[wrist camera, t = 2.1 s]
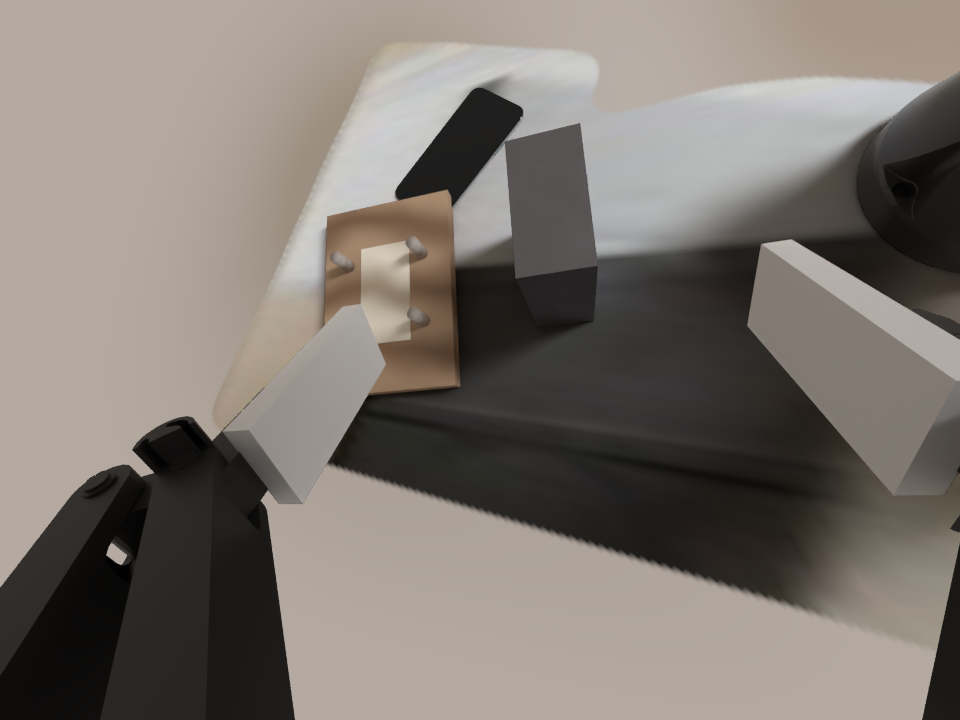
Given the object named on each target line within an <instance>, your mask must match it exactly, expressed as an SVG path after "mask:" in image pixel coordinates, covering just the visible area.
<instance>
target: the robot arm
mask: <svg viewBox="0 0 960 720" xmlns="http://www.w3.org/2000/svg"><path fill="white" fill-rule="evenodd" d="M857 187H858V195H859V199H860V203H861V206H862V208H863V211H864V213H865V215H866V216H867V218H868V220H869V221H870V223H871V224H872V226H873V227H874V228H875V229H876V230H877V232H878V233H879V234H880V235H881V236H882V237H883V238H884V239H885V240H886V241H888V242H889V243H890V244H891V245H893V246H894V247H895V248H897V249H898V250H900V251H901V252H903V253H905V254H906V255H908V256H910V257H912V258H914V259H916V260H918V261H920V262H923V263H925V264H928V265H930V266H934V267H937V268H940V269H944V270H947V271H952V272H957V273H960V71H959V72H958V73H956V74H954V75H953V76H951V77H949V78H947V79H946V80H944V81H942V82H941V83H939V84H937V85H936V86H934V87H932V88H930V89H929V90H927V91H926V92H924V93H922V94H921V95H919V96H918V97H917V98H915V99H914V100H912V101H911V102H910V103H909V104H907V105H906V106H905V107H904V108H903V109H902V110H901V111H900V112H898V113H897V114H896V115H895V116H894V117H893V119H892V120H891V121H890V122H889V123H888V124H887V125H886V126H885V127H884V128H883V129H882V130H881V131H880V132H879V133H878V134H877V135H876V136H875V138H874V139H873V140H872V141H871V143H870V144H869V146H868V147H867V149H866V151H865V153H864V155H863V157H862V160H861V163H860V166H859V171H858V178H857ZM747 326H748V327H749V328H750V330H751V331H752V332H753V333H754V334H755V335H756V337H757V338H758V339H759V340H760V341H761V342H762V344H763V345H764V346H765V347H766V348H767V349H768V351H769V352H770V353H771V354H772V355H773V356H774V358H775V359H776V360H777V361H778V362H779V363H780V364H781V366H782V367H783V368H784V369H785V370H786V371H787V373H788V374H789V375H790V376H791V377H792V378H793V380H794V381H795V382H796V383H797V384H798V385H799V387H800V388H801V389H802V390H803V391H804V392H805V394H806V395H807V396H808V397H809V398H810V399H811V401H812V402H813V403H814V404H815V405H816V406H817V407H818V409H819V410H820V411H821V412H822V413H823V414H824V416H825V417H826V418H827V419H828V420H829V421H830V423H831V424H832V425H833V426H834V427H835V428H836V430H837V431H838V432H839V433H840V434H841V435H842V437H843V438H844V439H845V440H846V441H847V442H848V444H849V445H850V446H851V447H852V448H853V449H854V450H855V452H856V453H857V454H858V455H859V456H860V457H861V459H862V460H863V461H864V462H865V463H866V464H867V466H868V467H869V468H870V469H871V470H872V471H873V473H874V474H875V475H876V476H877V477H878V478H879V480H880V481H881V482H882V483H883V484H884V485H885V487H886V488H887V489H888V490H889V491H890V492H891V493H892V495H893V496H914V495H944V494H945V492H946V491H947V489H948V488H949V486H950V485H951V483H952V482H953V480H954V479H955V477H956V476H957V474H958V472H959V473H960V324H958V323H956V322H954V321H952V320H951V319H948V318H945V317H942V316H939V315H936V314H932V313H929V312H926V311H923V310H920V309H913V310H909V309H907V308H906V307H904V306H902V305H901V304H899V303H897V302H896V301H894V300H892V299H891V298H889V297H887V296H886V295H884V294H882V293H881V292H879V291H877V290H876V289H874V288H872V287H870V286H869V285H867V284H865V283H864V282H862V281H860V280H859V279H857V278H855V277H854V276H852V275H850V274H849V273H847V272H845V271H844V270H842V269H840V268H839V267H837V266H835V265H834V264H832V263H830V262H829V261H827V260H825V259H824V258H822V257H820V256H819V255H817V254H815V253H814V252H812V251H810V250H808V249H807V248H805V247H803V246H802V245H800V244H798V243H797V242H795V241H793V240H792V239H790V240H784V241H777V242H770V243H764V244H761V248H760V254H759V260H758V265H757V271H756V277H755V283H754V289H753V294H752V300H751V306H750V312H749V318H748V324H747ZM385 365H386V363H385V361H384V358H383V356H382V353H381V351H380V349H379V346H378V344H377V342H376V339H375V337H374V334H373V332H372V330H371V327H370V325H369V322H368V320H367V318H366V315H365V313H364V311H363V308H362V306H361V304H357V305H351V306H344V307H342V308H341V309H340V310H339V311H338V312H337V313H336V314H335V315H334V316H333V317H332V318H331V319H330V320H329V321H328V322H327V324H326V325H325V326H324V327H323V328H322V329H321V330H320V331H319V332H318V333H317V334H316V335H315V336H314V337H313V338H312V339H311V340H310V341H309V342H308V343H307V344H306V345H305V346H304V347H303V348H302V349H301V351H300V352H299V353H298V354H297V355H296V356H295V357H294V358H293V359H292V360H291V361H290V362H289V363H288V364H287V365H286V366H285V367H284V368H283V369H282V370H281V371H280V372H279V373H278V374H277V375H276V376H275V378H274V379H273V380H272V381H271V382H270V383H269V384H268V385H267V386H266V387H264V388H263V389H262V390H261V391H260V392H259V393H258V394H257V395H256V396H255V397H254V398H253V399H252V401H251V402H250V403H249V404H248V405H247V406H246V407H245V408H244V410H243V411H241V412H240V413H239V414H238V415H237V416H236V417H235V418H234V419H233V420H232V421H231V422H230V423H229V424H228V425H227V426H226V427H225V428H224V429H223V430H222V431H221V433H220V434H219V435H218V436H217V437H216V438H215V439H214V440H213V441H211V439H210V438H209V437H208V436H207V434H206V433H205V432H204V431H203V430H202V428H201V427H200V426H199V425H198V423H197V422H196V421H195V420H194V418H192V417H188V416H186V417H180V418H176V419H173V420H171V421H168V422H166V423H164V424H162V425H160V426H158V427H156V428H155V429H153V430H152V431H150V432H149V433H147V434H146V435H145V436H144V437H142V438H141V439H140V440H139V441H138V442H137V443H136V445H135V446H134V448H133V449H132V450H133V451H134V452H135V453H136V454H137V455H138V456H139V457H140V458H141V459H142V460H143V461H144V462H145V464H147V466H149V468H150V469H151V470H152V471H153V472H154V473H153V474H150V475H146V476H143V477H141V476H140V475H139V474H138V473H137V472H136V471H135V470H134V469H133V468H132V467H131V466H129V465H120V466H116V467H112V468H110V469H108V470H106V471H102V472H100V473H98V474H96V476H95V475H94V476H93V477H91V478H89V479H88V480H87V481H86V483H85V484H83V485H82V486H81V487H80V488H78V490H76V491H75V492H74V494H73V495H72V496H71V497H70V498H69V499H68V501H67V502H66V503H65V505H64V506H63V507H62V508H61V510H60V511H59V512H58V514H57V515H56V516H55V518H54V519H53V520H52V521H51V523H50V524H49V525H48V527H47V528H46V530H45V531H44V532H43V533H42V534H41V536H40V537H39V538H38V539H37V541H36V542H35V543H34V545H33V546H32V547H31V549H30V550H29V551H28V553H27V554H26V555H25V556H24V558H23V559H22V560H21V562H20V563H19V564H18V565H17V567H16V568H15V570H14V571H13V572H12V573H11V575H10V576H9V577H8V578H7V580H6V581H5V582H4V584H3V585H2V586H1V587H0V720H295V717H294V709H293V702H292V695H291V687H290V680H289V672H288V665H287V657H286V650H285V642H284V635H283V627H282V620H281V612H280V605H279V598H278V591H277V583H276V575H275V568H274V560H273V553H272V545H271V539H270V530H269V523H268V516H267V510H266V508H265V506H264V504H263V503H262V502H261V501H260V500H261V499H262V497H263V496H264V495H265V493H266V492H267V490H268V491H269V492H270V493H271V495H272V496H273V497H274V499H275V500H276V501H277V502H278V503H279V504H303V502H304V501H305V499H306V497H307V496H308V494H309V492H310V490H311V489H312V487H313V486H314V484H315V482H316V481H317V479H318V477H319V476H320V474H321V472H322V471H323V469H324V467H325V466H326V464H327V462H328V461H329V459H330V457H331V456H332V454H333V452H334V451H335V449H336V447H337V446H338V444H339V442H340V441H341V439H342V437H343V436H344V434H345V432H346V431H347V429H348V427H349V425H350V424H351V422H352V420H353V419H354V417H355V415H356V414H357V412H358V410H359V409H360V407H361V405H362V404H363V402H364V400H365V399H366V397H367V395H368V394H369V392H370V390H371V389H372V387H373V385H374V384H375V382H376V380H377V379H378V377H379V375H380V374H381V372H382V370H383V369H384V367H385ZM950 529H952V530H954V531H957V532H960V516H959V517H958V518H957V520H956V521H955V523H954V524H953V525H952V527H951V528H950ZM111 542H112V543H113V544H114V545H116V546H117V547H118V548H119V549H120V550H122V551H123V552H124V553H126V554H127V557H126V559H125V561H124V563H123V564H122V565H119V564H117V563H116V562H114V561H113V560H112V559H110V558H109V557H108V556H106V554H107V550H108V547H109V545H110V544H111ZM922 720H960V545H959V550H958V554H957V559H956V564H955V568H954V573H953V578H952V582H951V587H950V592H949V596H948V601H947V606H946V611H945V615H944V620H943V625H942V629H941V634H940V639H939V643H938V648H937V653H936V658H935V662H934V667H933V672H932V676H931V681H930V686H929V690H928V695H927V700H926V704H925V709H924V714H923V719H922Z"/></svg>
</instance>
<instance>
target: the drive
mask: <svg viewBox="0 0 960 720" xmlns="http://www.w3.org/2000/svg"><path fill="white" fill-rule="evenodd" d="M505 149H506V162H507V175H508V188H509V201H510V214H511V226H512V239H513V252H514V265H515V278H516V281H517V283H518V285H519V287H520V290H521V292H522V294H523V296H524V299H525V301H526V303H527V305H528V308H529V310H530V312H531V314H532V316H533V319H534V321H535V323H536V325H537V328H540V327H548V326H556V325H565V324H573V323H581V322H589V321H594V308H595V295H596V282H597V269H598V264H597V256H596V247H595V239H594V231H593V223H592V215H591V207H590V199H589V191H588V183H587V175H586V167H585V159H584V151H583V143H582V135H581V126H580V123H579V124H575V125H571V126H567V127H562V128H558V129H554V130H550V131H546V132H542V133H538V134H534V135H530V136H526V137H521V138H517V139H513V140H509V141H505Z"/></svg>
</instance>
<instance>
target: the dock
mask: <svg viewBox="0 0 960 720" xmlns="http://www.w3.org/2000/svg"><path fill="white" fill-rule="evenodd" d="M357 304H361V306H362V308H363V311H364V313H365V315H366V318H367V320H368V322H369V325H370V327H371V330H372V332H373V334H374V337H375V339H376V342H377V344H378V346H379V349H380V351H381V353H382V356H383V358H384V361H385V363H386V365H385V367H384V369H383V370H382V372H381V374H380V375H379V377H378V379H377V380H376V382H375V384H374V385H373V387H372V389H371V390H370V392H369V394H368V395H379V394H390V393H401V392H412V391H423V390H434V389H445V388H456V387H460V366H459V343H458V321H457V298H456V276H455V253H454V231H453V209H452V204H451V195H450V194H449V192H448V190H444V191H439V192H435V193H430V194H426V195H421V196H417V197H412V198H408V199H403V200H399V201H394V202H390V203H385V204H381V205H376V206H372V207H367V208H363V209H358V210H354V211H349V212H345V213H340V214H336V215H331V216H327V245H326V282H325V318H324V326H325V325H326V324H327V322H328V321H329V320H330V319H331V318H332V317H333V316H334V315H335V314H336V313H337V312H338V311H339V310H340V309H341V308H342V307H344V306H351V305H357ZM368 395H367V396H368Z"/></svg>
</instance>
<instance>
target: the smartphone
mask: <svg viewBox="0 0 960 720" xmlns="http://www.w3.org/2000/svg"><path fill="white" fill-rule="evenodd" d="M523 117H524V113H523V109H522V108H521V107H520V106H518V105H516V104H514V103H512V102H510V101H508V100H506V99H504V98H502V97H500V96H498V95H496V94H494V93H492V92H490V91H488V90H486V89H484V88H476V89H474V90H472V91H471V92H470V93H469V95H468V96H467V97H466V99H465V100H464V101H463V103H462V104H461V105H460V106H459V108H458V109H457V110H456V112H455V113H454V114H453V115H452V117H451V118H450V119H449V121H448V122H447V123H446V125H445V126H444V127H443V128H442V130H441V131H440V132H439V134H438V135H437V136H436V138H435V139H434V140H433V141H432V143H431V144H430V145H429V147H428V148H427V149H426V150H425V152H424V153H423V154H422V156H421V157H420V158H419V160H418V161H417V162H416V163H415V165H414V166H413V167H412V169H411V170H410V171H409V173H408V174H407V175H406V176H405V178H404V179H403V180H402V182H401V183H400V184H399V185H398V187H397V189H396V196H397V198H398V199H399V200H403V199H408V198H412V197H417V196H421V195H426V194H430V193H435V192H439V191H444V190H448V192H449V194H450V195H451V204H452V209H453V208H454V207H455V205H456V204H457V203H458V202H459V200H460V199H461V198H462V196H463V195H464V194H465V193H466V191H467V190H468V189H469V188H470V186H471V185H472V184H473V182H474V181H475V180H476V179H477V177H478V176H479V175H480V173H481V172H482V171H483V170H484V168H485V167H486V166H487V165H488V163H489V162H490V161H491V159H492V158H493V157H494V156H495V155H496V153H497V152H498V151H499V149H500V148H501V147H502V146H503V144H504V143H505V141H506V140H507V139H508V138H509V136H510V135H511V134H512V133H513V131H514V130H515V129H516V127H517V126H518V125H519V124H520V122H521V121H522V119H523Z"/></svg>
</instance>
